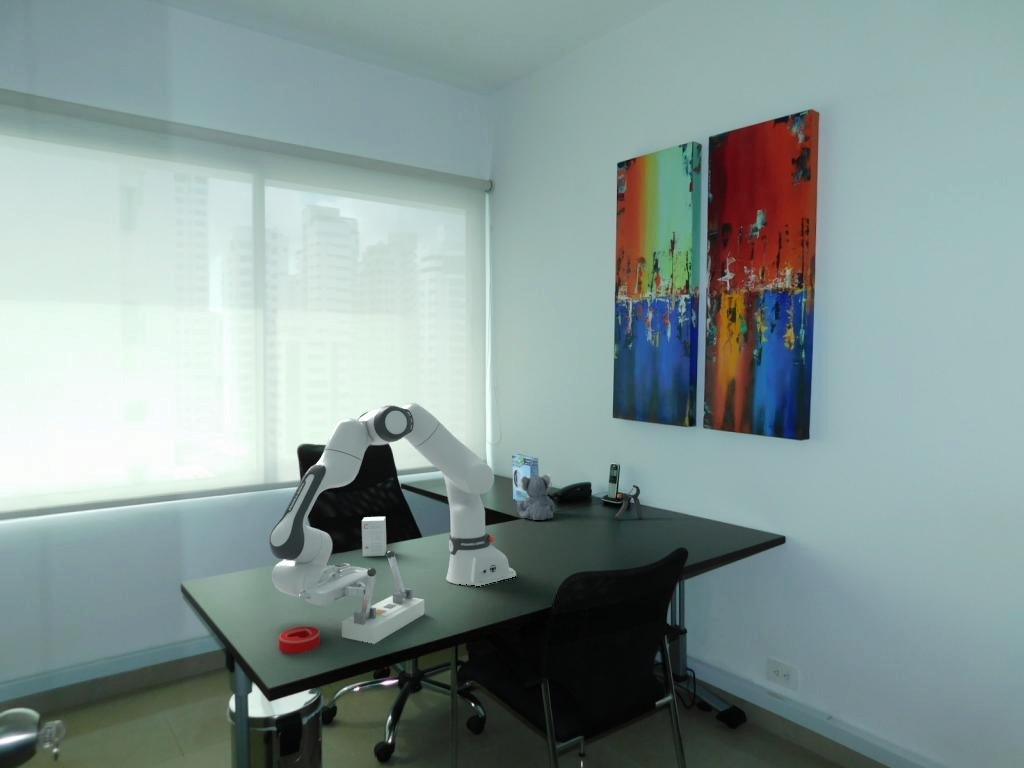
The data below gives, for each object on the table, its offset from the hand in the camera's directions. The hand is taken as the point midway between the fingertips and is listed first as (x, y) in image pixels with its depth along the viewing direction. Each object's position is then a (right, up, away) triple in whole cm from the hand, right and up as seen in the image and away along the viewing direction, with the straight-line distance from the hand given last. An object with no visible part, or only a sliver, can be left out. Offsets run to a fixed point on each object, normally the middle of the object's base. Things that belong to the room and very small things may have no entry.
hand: (366, 591), depth 169 cm
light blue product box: (+44, -7, +165) cm, 171 cm away
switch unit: (+3, -11, +8) cm, 14 cm away
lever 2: (+7, -6, +15) cm, 17 cm away
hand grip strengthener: (+88, -7, +125) cm, 153 cm away
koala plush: (+48, -8, +131) cm, 140 cm away
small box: (-13, -10, +75) cm, 77 cm away
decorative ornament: (-15, -12, -4) cm, 20 cm away
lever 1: (0, -6, 0) cm, 6 cm away
